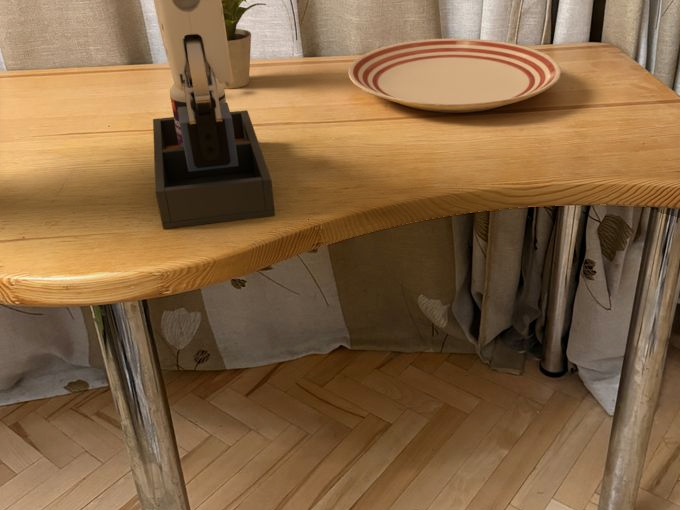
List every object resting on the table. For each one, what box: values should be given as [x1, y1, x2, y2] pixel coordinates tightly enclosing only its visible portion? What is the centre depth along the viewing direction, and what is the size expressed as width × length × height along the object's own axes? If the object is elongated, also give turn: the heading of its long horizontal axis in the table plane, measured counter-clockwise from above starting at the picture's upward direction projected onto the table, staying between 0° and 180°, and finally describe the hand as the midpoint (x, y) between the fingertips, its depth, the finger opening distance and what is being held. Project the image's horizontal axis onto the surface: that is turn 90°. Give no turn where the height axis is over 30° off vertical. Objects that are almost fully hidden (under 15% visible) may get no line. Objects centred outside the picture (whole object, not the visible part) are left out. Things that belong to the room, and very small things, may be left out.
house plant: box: [215, 0, 269, 90], centre depth 98 cm, size 14×14×16 cm
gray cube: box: [178, 102, 238, 172], centre depth 68 cm, size 4×4×4 cm
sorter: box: [152, 110, 276, 230], centre depth 74 cm, size 10×19×4 cm, turn 15°
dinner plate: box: [348, 38, 562, 114], centre depth 97 cm, size 28×27×3 cm
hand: (210, 152), depth 69 cm, fingers closed on gray cube, 4 cm apart
